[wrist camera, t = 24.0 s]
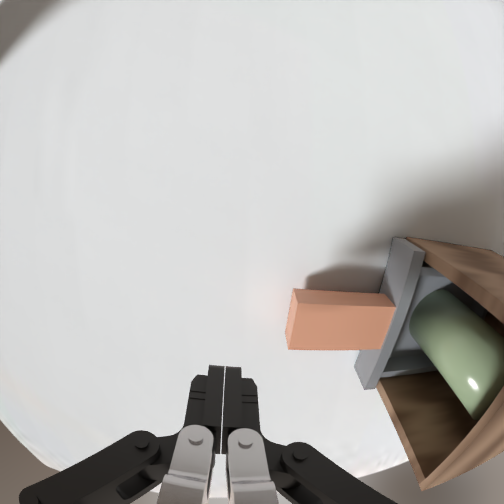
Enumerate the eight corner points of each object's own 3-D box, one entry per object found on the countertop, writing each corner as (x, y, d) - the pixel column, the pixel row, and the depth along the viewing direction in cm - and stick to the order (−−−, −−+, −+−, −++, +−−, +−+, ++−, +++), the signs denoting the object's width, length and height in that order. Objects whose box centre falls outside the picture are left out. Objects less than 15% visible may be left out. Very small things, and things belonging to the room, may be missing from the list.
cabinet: (365, 365, 23) (421, 491, 10) (406, 236, 19) (542, 336, 6) (450, 356, 23) (514, 444, 11) (491, 250, 19) (594, 317, 7)
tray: (276, 366, 22) (279, 392, 19) (300, 225, 18) (310, 239, 16) (444, 358, 23) (457, 375, 20) (485, 251, 19) (506, 262, 16)
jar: (399, 321, 20) (465, 408, 10) (442, 277, 19) (525, 344, 9) (422, 350, 21) (478, 426, 12) (461, 311, 20) (528, 375, 11)
